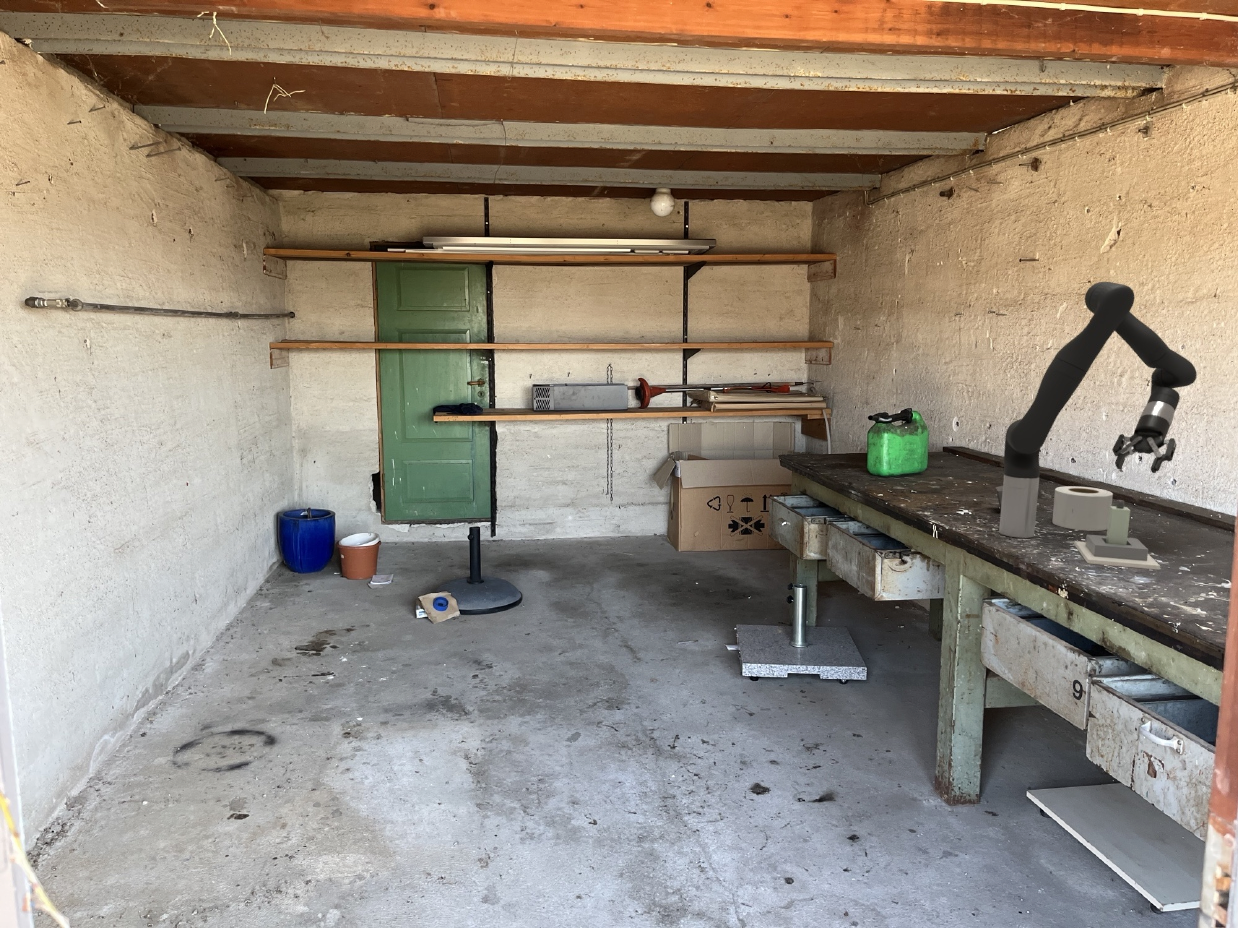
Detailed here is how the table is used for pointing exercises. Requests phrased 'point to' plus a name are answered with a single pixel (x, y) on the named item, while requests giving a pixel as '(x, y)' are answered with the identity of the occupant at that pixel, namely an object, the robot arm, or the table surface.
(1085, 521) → the roll of tape
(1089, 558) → the plate
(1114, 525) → the plug
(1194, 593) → the table surface
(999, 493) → the electrical switch
